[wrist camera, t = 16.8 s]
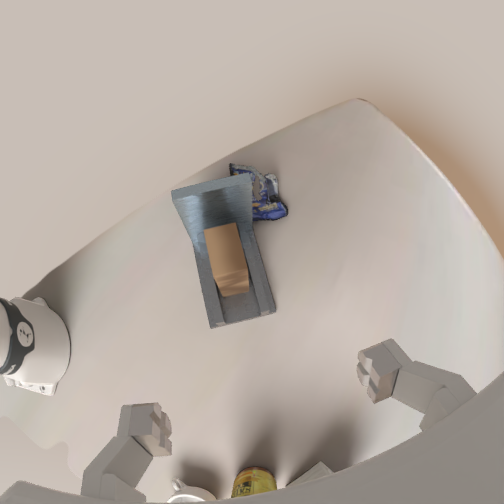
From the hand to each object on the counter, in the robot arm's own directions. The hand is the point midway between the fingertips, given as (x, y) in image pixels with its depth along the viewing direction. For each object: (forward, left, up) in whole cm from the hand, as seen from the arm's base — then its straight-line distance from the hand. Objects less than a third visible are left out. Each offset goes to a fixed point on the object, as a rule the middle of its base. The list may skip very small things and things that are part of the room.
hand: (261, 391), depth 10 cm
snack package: (+8, +27, -32) cm, 43 cm away
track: (0, +14, -31) cm, 34 cm away
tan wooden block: (0, +14, -30) cm, 34 cm away
